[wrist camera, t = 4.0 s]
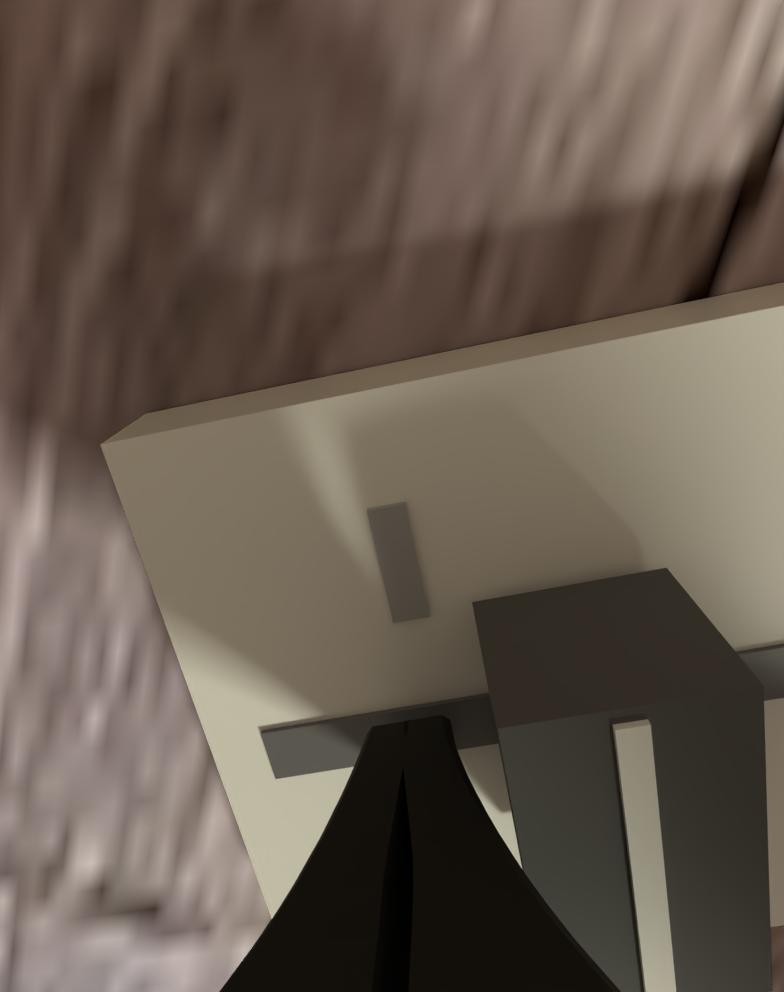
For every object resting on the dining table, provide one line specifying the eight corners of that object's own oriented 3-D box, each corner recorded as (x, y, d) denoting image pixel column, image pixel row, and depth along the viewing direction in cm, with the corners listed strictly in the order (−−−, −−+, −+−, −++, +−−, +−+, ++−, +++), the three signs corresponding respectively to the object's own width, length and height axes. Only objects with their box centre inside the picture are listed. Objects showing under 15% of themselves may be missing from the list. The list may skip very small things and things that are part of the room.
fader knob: (667, 567, 11) (767, 690, 8) (687, 818, 12) (775, 998, 9) (472, 601, 11) (498, 734, 8) (517, 844, 12) (553, 1026, 10)
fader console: (1378, 159, 11) (1599, 141, 9) (1224, 772, 15) (1352, 854, 13) (146, 413, 12) (97, 446, 10) (309, 904, 16) (297, 996, 14)
